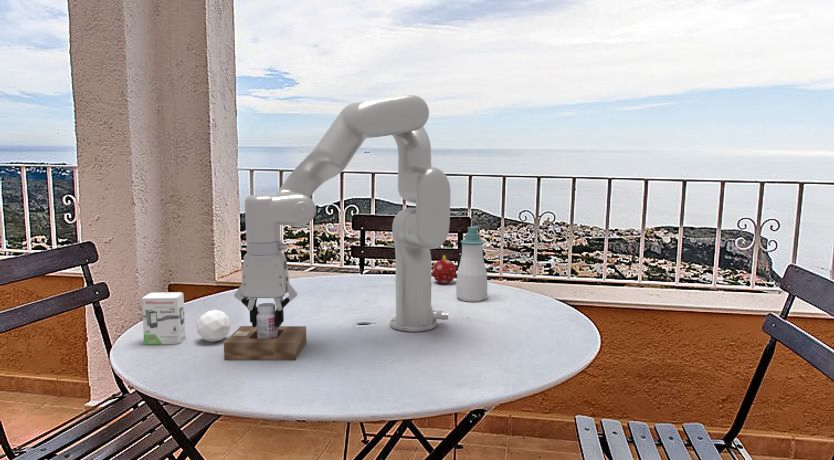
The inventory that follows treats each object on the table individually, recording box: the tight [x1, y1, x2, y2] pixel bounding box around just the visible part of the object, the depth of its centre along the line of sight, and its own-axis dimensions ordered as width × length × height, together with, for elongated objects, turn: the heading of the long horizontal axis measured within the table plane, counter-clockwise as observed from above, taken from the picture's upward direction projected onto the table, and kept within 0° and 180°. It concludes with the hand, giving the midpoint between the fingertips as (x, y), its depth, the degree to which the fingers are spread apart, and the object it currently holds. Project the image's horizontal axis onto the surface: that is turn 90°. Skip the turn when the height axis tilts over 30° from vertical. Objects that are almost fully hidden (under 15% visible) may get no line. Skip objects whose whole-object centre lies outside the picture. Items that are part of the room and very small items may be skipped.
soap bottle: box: [455, 225, 488, 303], centre depth 178 cm, size 10×10×23 cm
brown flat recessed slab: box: [223, 325, 307, 361], centre depth 132 cm, size 16×12×4 cm
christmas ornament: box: [431, 254, 457, 284], centre depth 199 cm, size 9×9×10 cm
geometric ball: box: [196, 309, 232, 343], centre depth 139 cm, size 8×8×8 cm
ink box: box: [141, 291, 186, 345], centre depth 138 cm, size 9×5×12 cm, turn 94°
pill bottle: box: [256, 302, 278, 339], centre depth 131 cm, size 5×5×8 cm
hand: (267, 324), depth 131 cm, fingers closed on pill bottle, 4 cm apart
